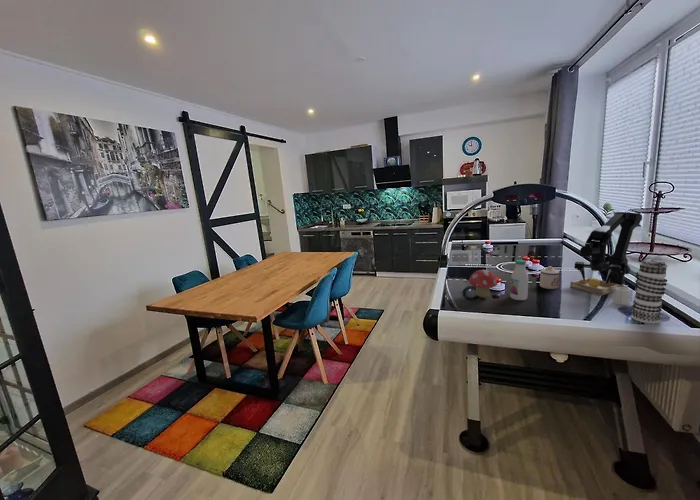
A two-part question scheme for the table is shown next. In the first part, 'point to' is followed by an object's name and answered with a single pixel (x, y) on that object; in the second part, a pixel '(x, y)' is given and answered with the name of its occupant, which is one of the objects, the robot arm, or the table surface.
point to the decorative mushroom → (483, 282)
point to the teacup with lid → (549, 278)
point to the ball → (594, 282)
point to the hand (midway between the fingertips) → (595, 282)
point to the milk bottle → (519, 281)
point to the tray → (599, 290)
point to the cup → (621, 296)
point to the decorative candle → (649, 291)
